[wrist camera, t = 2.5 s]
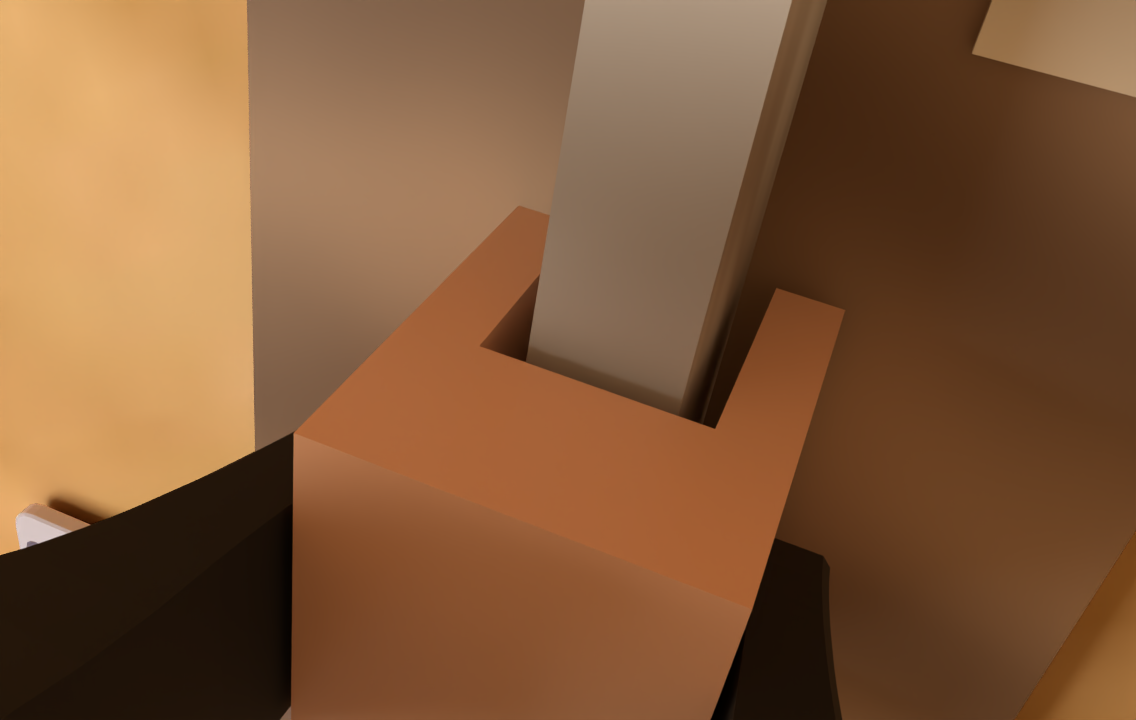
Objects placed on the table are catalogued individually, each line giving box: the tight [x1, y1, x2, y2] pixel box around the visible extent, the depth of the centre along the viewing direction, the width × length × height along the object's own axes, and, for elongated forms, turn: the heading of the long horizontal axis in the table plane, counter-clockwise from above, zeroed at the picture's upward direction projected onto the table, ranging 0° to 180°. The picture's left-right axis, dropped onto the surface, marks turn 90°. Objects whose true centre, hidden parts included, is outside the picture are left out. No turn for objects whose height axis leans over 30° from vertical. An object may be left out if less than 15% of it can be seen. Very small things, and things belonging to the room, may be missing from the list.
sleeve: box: [291, 206, 845, 720], centre depth 12 cm, size 5×4×5 cm
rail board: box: [247, 0, 1136, 720], centre depth 11 cm, size 18×12×5 cm, turn 171°
